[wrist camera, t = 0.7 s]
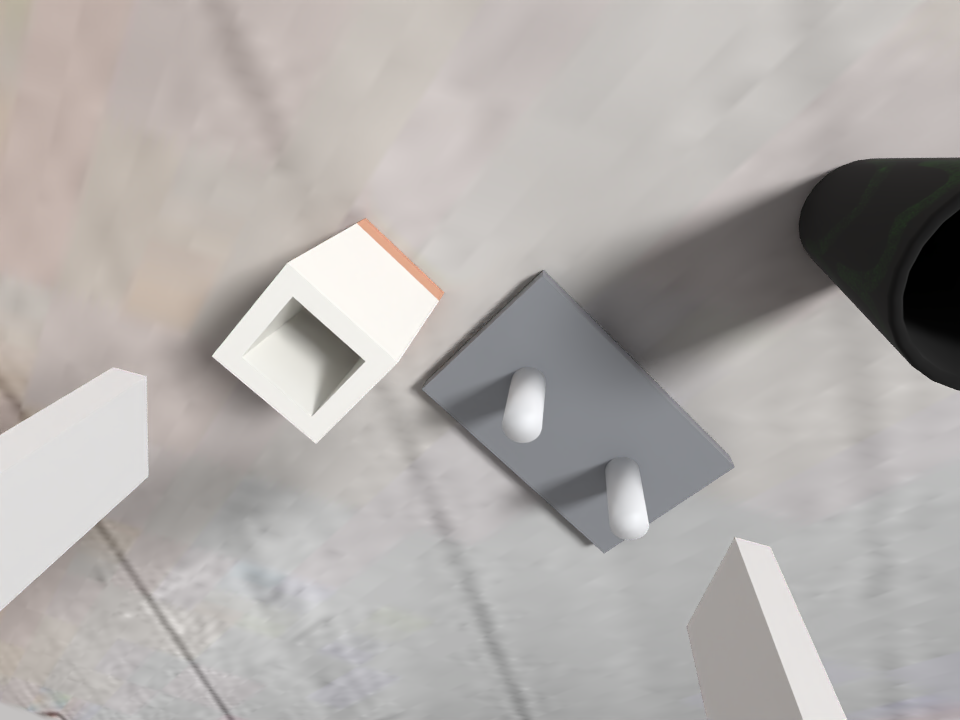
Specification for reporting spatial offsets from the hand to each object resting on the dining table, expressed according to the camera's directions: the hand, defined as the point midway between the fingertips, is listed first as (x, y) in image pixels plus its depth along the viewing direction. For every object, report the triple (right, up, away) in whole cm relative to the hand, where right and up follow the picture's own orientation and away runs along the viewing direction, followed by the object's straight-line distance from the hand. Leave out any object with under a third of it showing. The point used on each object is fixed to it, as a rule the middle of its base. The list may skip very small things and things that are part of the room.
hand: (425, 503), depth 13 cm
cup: (+20, +10, +17) cm, 28 cm away
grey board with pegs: (+7, 0, +23) cm, 24 cm away
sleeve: (-5, +7, +22) cm, 23 cm away
